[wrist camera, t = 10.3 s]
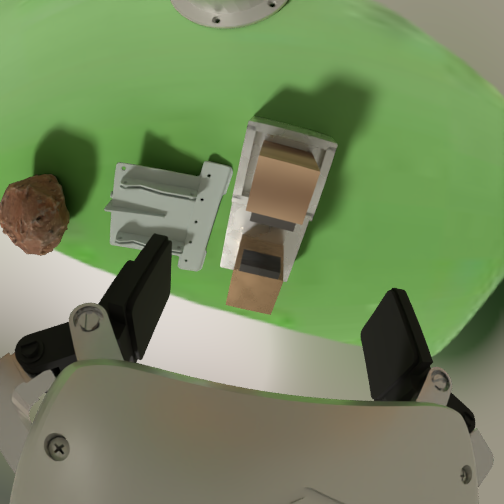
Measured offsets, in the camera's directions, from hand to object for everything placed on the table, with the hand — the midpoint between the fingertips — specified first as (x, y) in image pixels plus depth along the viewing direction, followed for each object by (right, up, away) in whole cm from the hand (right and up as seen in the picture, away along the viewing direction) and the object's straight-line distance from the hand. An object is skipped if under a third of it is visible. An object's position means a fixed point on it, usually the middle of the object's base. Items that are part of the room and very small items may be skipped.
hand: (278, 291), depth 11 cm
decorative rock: (-31, +9, +22) cm, 39 cm away
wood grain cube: (+2, +9, +14) cm, 17 cm away
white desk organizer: (+1, +7, +19) cm, 21 cm away
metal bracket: (-11, +7, +22) cm, 26 cm away
